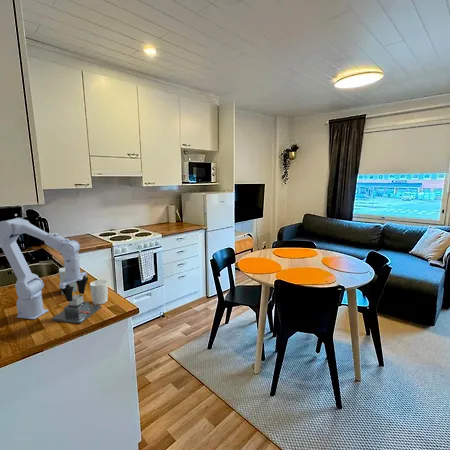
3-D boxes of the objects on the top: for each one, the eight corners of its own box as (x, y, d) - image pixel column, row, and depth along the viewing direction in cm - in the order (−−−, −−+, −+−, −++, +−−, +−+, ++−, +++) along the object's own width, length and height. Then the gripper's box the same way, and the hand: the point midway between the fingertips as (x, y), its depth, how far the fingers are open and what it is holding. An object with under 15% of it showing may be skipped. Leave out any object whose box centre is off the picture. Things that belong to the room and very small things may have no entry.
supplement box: (77, 291, 146) (75, 269, 144) (61, 294, 142) (59, 272, 140) (76, 286, 152) (73, 265, 150) (60, 289, 148) (58, 268, 146)
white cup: (111, 301, 135) (110, 282, 133) (95, 306, 130) (93, 287, 128) (104, 296, 140) (103, 278, 139) (89, 301, 135) (87, 282, 133)
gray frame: (52, 320, 118) (50, 310, 117) (75, 305, 131) (74, 296, 130) (80, 323, 115) (79, 313, 114) (101, 307, 129) (100, 298, 128)
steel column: (70, 313, 121) (68, 298, 120) (76, 308, 125) (75, 294, 124) (78, 314, 121) (76, 299, 119) (84, 309, 125) (82, 295, 123)
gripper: (68, 274, 111) (72, 305, 114) (91, 263, 125) (94, 290, 128) (53, 273, 113) (57, 304, 115) (78, 262, 127) (81, 289, 129)
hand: (75, 297), depth 122 cm, fingers open, 7 cm apart
